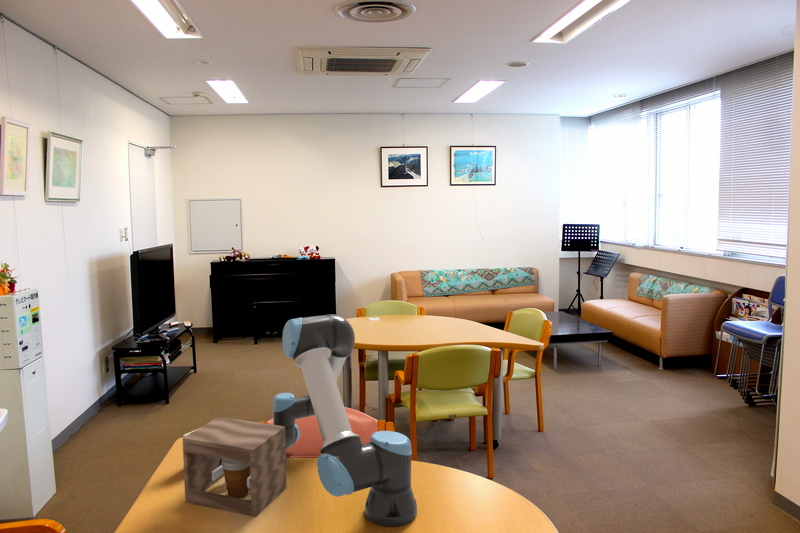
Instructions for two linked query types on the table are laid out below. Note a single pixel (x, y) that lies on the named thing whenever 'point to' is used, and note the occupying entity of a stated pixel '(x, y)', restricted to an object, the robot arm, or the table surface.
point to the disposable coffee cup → (236, 477)
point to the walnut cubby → (238, 444)
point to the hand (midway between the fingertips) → (230, 479)
